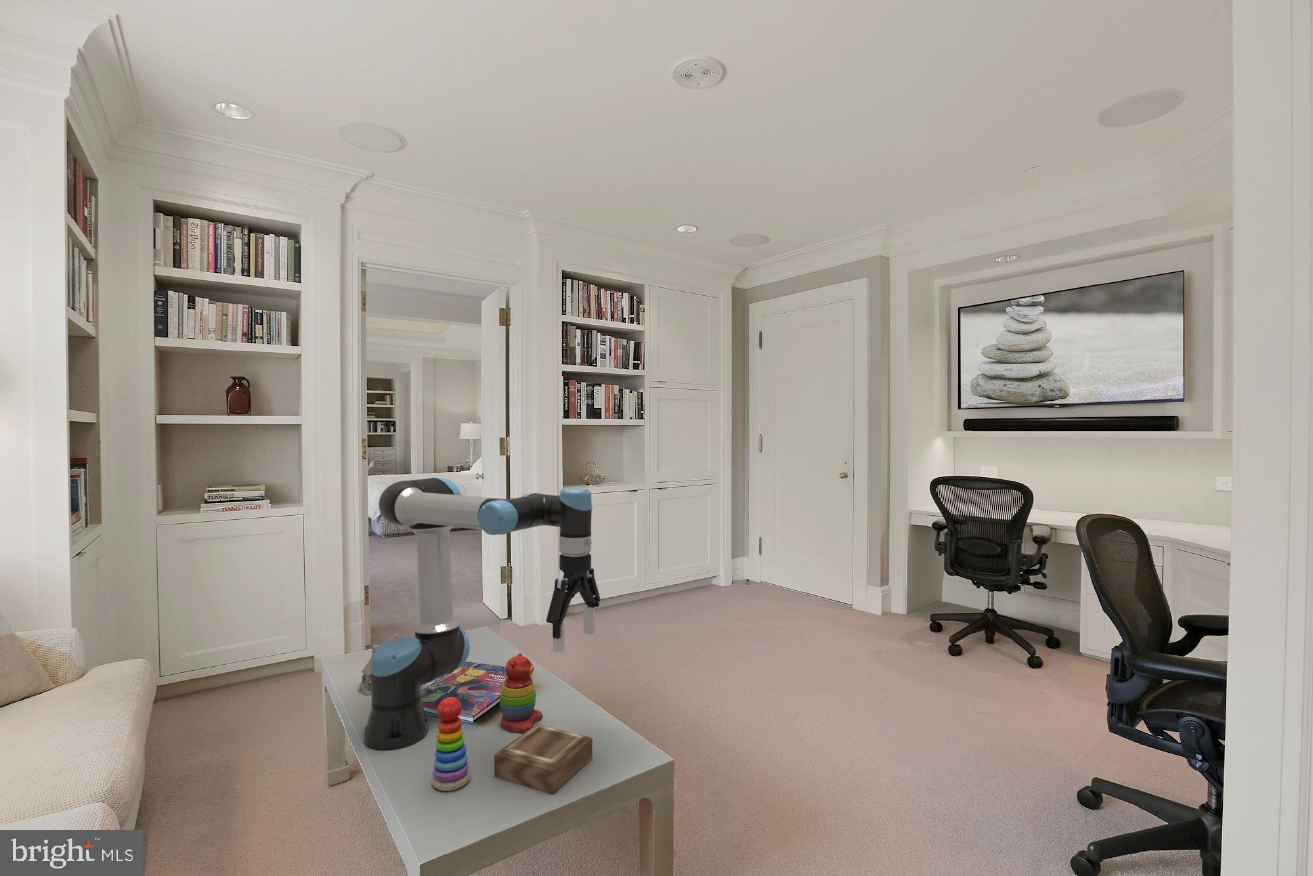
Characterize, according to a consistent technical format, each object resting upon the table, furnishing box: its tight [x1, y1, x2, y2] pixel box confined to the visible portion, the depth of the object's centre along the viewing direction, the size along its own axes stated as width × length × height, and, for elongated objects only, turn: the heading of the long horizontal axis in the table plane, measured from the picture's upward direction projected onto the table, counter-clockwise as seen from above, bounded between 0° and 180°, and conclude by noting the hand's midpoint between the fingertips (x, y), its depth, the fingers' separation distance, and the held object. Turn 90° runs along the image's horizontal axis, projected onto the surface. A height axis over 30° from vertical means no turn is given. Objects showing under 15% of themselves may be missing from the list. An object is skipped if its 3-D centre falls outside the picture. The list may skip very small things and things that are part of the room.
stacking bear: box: [499, 652, 543, 734], centre depth 166 cm, size 11×10×18 cm
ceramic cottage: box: [358, 634, 400, 697], centre depth 187 cm, size 16×16×15 cm
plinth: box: [493, 723, 593, 795], centre depth 144 cm, size 16×16×6 cm
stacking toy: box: [431, 696, 471, 792], centre depth 138 cm, size 8×8×19 cm
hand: (574, 642), depth 148 cm, fingers open, 13 cm apart
